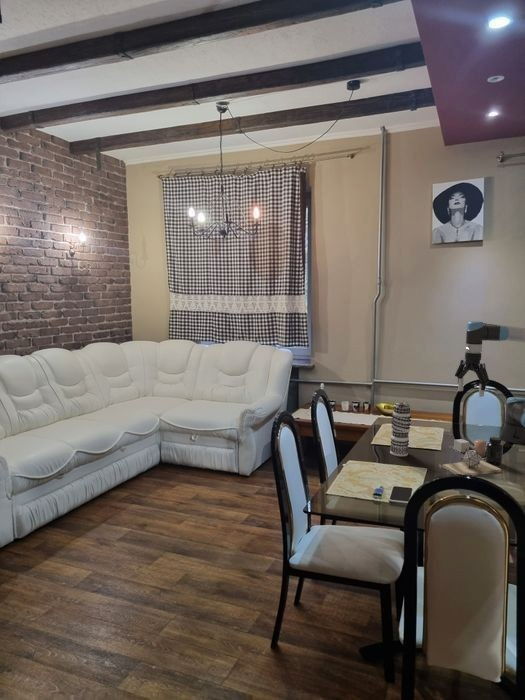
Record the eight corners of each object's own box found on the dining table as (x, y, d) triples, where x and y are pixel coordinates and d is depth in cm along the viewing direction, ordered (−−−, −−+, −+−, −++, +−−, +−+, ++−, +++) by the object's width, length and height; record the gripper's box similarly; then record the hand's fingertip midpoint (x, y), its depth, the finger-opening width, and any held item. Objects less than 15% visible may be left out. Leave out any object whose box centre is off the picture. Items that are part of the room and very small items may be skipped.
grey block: (461, 448, 248) (462, 439, 247) (468, 451, 244) (469, 442, 243) (453, 449, 246) (454, 439, 246) (460, 452, 242) (461, 443, 241)
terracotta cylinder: (479, 452, 242) (480, 439, 241) (487, 456, 237) (488, 442, 236) (471, 453, 240) (472, 440, 239) (479, 457, 236) (480, 443, 235)
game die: (475, 475, 219) (487, 463, 212) (456, 467, 220) (468, 455, 213) (475, 460, 225) (487, 448, 219) (458, 452, 226) (469, 440, 220)
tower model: (394, 457, 233) (398, 405, 229) (385, 450, 242) (389, 400, 238) (412, 456, 235) (416, 405, 231) (403, 449, 244) (406, 400, 240)
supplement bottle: (500, 462, 230) (502, 437, 228) (502, 467, 224) (504, 441, 222) (484, 460, 232) (486, 435, 231) (485, 464, 226) (488, 439, 224)
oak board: (480, 462, 229) (480, 459, 229) (500, 471, 218) (501, 469, 218) (442, 467, 221) (442, 464, 221) (461, 477, 210) (461, 474, 210)
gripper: (449, 349, 257) (446, 389, 259) (487, 356, 234) (484, 399, 237) (460, 348, 259) (457, 388, 262) (499, 355, 237) (496, 398, 240)
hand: (470, 393), depth 250 cm, fingers open, 13 cm apart
